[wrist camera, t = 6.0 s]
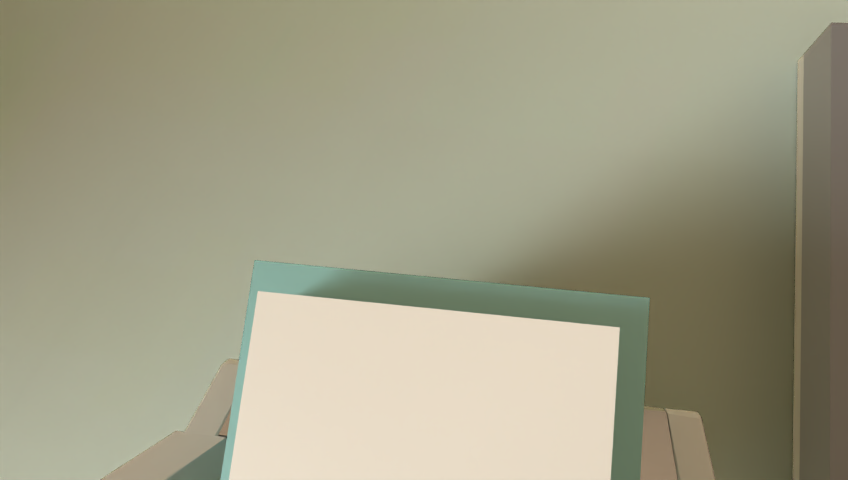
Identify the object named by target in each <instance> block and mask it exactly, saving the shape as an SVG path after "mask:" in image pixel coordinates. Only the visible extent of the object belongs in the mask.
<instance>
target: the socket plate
mask: <svg viewBox="0 0 848 480" xmlns="http://www.w3.org/2000/svg"><path fill="white" fill-rule="evenodd" d="M793 480H848V23H831V24H830V25H829V26H828V27H827V28H826V29H825V30H824V32H823V33H822V34H821V35H820V36H819V37H818V38H817V40H816V41H815V42H814V43H813V44H812V45H811V46H810V48H809V49H808V50H807V51H806V52H805V53H804V54H803V56H802V57H801V58H800V59H799V60H798V74H797V156H796V239H795V321H794V404H793Z"/></svg>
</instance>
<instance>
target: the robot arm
mask: <svg viewBox="0 0 848 480" xmlns="http://www.w3.org/2000/svg"><path fill="white" fill-rule="evenodd" d="M238 363H239V360H236V359H228V360H226V361H225V362H224V363H223V364H222V365H221V366H220V368H219V370H218V372H217V374H216V375H215V377H214V379H213V381H212V383H211V384H210V386H209V388H208V390H207V392H206V394H205V395H204V397H203V399H202V401H201V403H200V404H199V406H198V408H197V410H196V412H195V414H194V415H193V417H192V419H191V421H190V423H189V424H188V426H187V428H186V430H185V432H182V431H175V432H173V433H172V434H170V435H169V436H167V437H166V438H164V439H163V440H161V441H159V442H158V443H156V444H155V445H153V446H152V447H150V448H148V449H147V450H145V451H144V452H142V453H141V454H139V455H138V456H136V457H134V458H133V459H131V460H130V461H128V462H127V463H125V464H124V465H122V466H120V467H119V468H117V469H116V470H114V471H113V472H111V473H110V474H108V475H106V476H105V477H103V478H102V479H100V480H220V479H221V473H222V466H223V460H224V453H225V447H226V440H227V434H228V428H229V421H230V415H231V408H232V402H233V395H234V389H235V383H236V376H237V370H238ZM640 480H715V476H714V471H713V467H712V462H711V458H710V453H709V449H708V444H707V440H706V435H705V431H704V426H703V422H702V417H701V416H700V414H699V413H698V412H696V411H686V410H676V409H667V408H665V409H662V408H657V407H647V406H644V416H643V435H642V453H641V472H640Z"/></svg>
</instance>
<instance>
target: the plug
mask: <svg viewBox="0 0 848 480" xmlns="http://www.w3.org/2000/svg"><path fill="white" fill-rule="evenodd" d="M649 303H650V298H647V297H637V296H626V295H616V294H605V293H595V292H584V291H574V290H563V289H553V288H542V287H532V286H521V285H511V284H500V283H490V282H479V281H469V280H458V279H448V278H437V277H427V276H416V275H406V274H395V273H385V272H374V271H364V270H353V269H343V268H332V267H322V266H311V265H301V264H290V263H280V262H269V261H259V260H255V261H254V267H253V273H252V280H251V286H250V293H249V299H248V306H247V312H246V318H245V325H244V331H243V338H242V344H241V351H240V357H239V363H238V370H237V376H236V383H235V389H234V395H233V402H232V408H231V415H230V421H229V428H228V434H227V440H226V447H225V453H224V460H223V466H222V473H221V479H220V480H640V472H641V453H642V435H643V416H644V397H645V378H646V359H647V340H648V321H649Z"/></svg>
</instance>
